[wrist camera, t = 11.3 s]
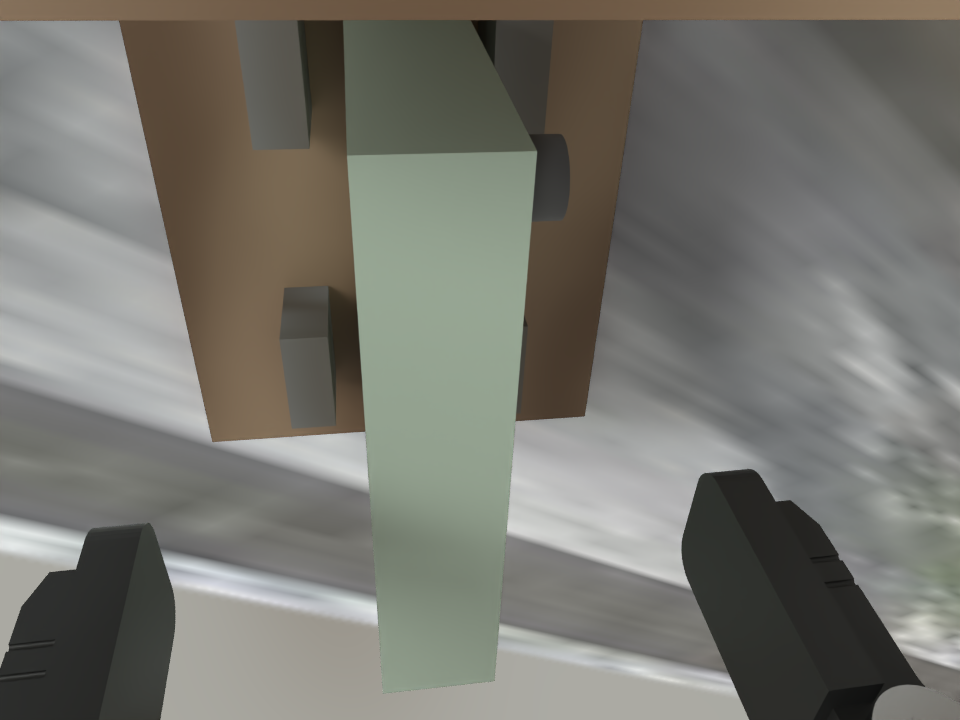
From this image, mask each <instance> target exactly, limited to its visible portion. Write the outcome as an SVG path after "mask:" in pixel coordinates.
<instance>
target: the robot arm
mask: <svg viewBox="0 0 960 720" xmlns="http://www.w3.org/2000/svg"><path fill="white" fill-rule="evenodd" d="M838 555H839V554H838V553H837V551H836V550H835V548H834V546H833V545H832V543H831V542H830V540H829V539H828V537H827V536H826V534H825V532H824V531H823V529H822V528H821V526H820V525H819V524H818V523H817V522H816V521H814V520H813V519H812V518H811V517H810V516H809V515H807V514H806V513H805V512H804V511H803V510H801V509H800V508H799V507H798V506H797V505H795V504H794V503H793V502H792V501H791V500H789V501H779V502H776V501H775V500H774V498H773V496H772V495H771V493H770V491H769V490H768V488H767V486H766V485H765V483H764V481H763V480H762V478H761V477H760V475H759V474H758V473H757V472H756V471H754V470H752V469H745V470H734V471H724V472H713V473H704V474H702V475H701V477H700V478H699V481H698V484H697V487H696V491H695V494H694V498H693V502H692V505H691V509H690V512H689V516H688V519H687V523H686V527H685V530H684V534H683V538H682V560H683V566H684V570H685V573H686V576H687V579H688V581H689V584H690V586H691V588H692V591H693V593H694V595H695V597H696V600H697V602H698V604H699V606H700V609H701V611H702V613H703V616H704V618H705V620H706V622H707V625H708V627H709V629H710V631H711V634H712V636H713V638H714V641H715V643H716V645H717V647H718V650H719V652H720V654H721V656H722V659H723V661H724V663H725V666H726V668H727V670H728V672H729V675H730V677H731V679H732V681H733V684H734V686H735V688H736V691H737V693H738V695H739V697H740V700H741V702H742V704H743V706H744V709H745V711H746V713H747V716H748V718H749V720H960V704H959V703H958V702H956V701H955V700H953V699H951V698H950V697H948V696H946V695H944V694H942V693H940V692H938V691H936V690H933V689H930V688H927V687H925V686H924V685H923V684H922V683H921V681H920V680H919V679H918V677H917V676H916V674H915V673H914V671H913V670H912V668H911V667H910V665H909V664H908V662H907V661H906V659H905V657H904V656H903V654H902V653H901V651H900V650H899V648H898V646H897V645H896V643H895V642H894V640H893V639H892V637H891V636H890V634H889V632H888V631H887V629H886V628H885V626H884V625H883V623H882V621H881V620H880V618H879V617H878V615H877V614H876V612H875V611H874V609H873V607H872V606H871V604H870V603H869V601H868V600H867V598H866V596H865V595H864V593H863V592H862V590H861V589H860V587H859V586H858V585H855V583H854V578H853V576H852V575H851V573H850V571H849V570H848V568H847V567H846V565H845V564H844V562H843V561H842V560H841V561H840V560H839V557H838ZM174 632H175V600H174V594H173V589H172V586H171V583H170V579H169V576H168V573H167V570H166V567H165V564H164V560H163V557H162V554H161V551H160V548H159V545H158V541H157V538H156V535H155V532H154V529H153V527H152V526H151V524H149V523H144V524H134V525H123V526H112V527H101V528H93V529H91V530H90V531H89V532H88V534H87V536H86V538H85V541H84V544H83V548H82V551H81V555H80V558H79V561H78V565H77V568H76V570H67V571H58V572H49V574H48V575H47V576H46V577H45V579H44V580H43V581H42V582H41V583H40V585H39V586H38V587H37V589H36V590H35V591H34V592H33V593H32V594H31V596H30V597H29V598H28V600H27V601H26V602H25V603H24V604H23V606H22V607H21V610H20V613H19V616H18V619H17V621H16V624H15V627H14V630H13V633H12V636H11V639H10V642H9V651H8V652H6V653H5V657H4V659H3V662H2V665H1V668H0V720H160V718H161V712H162V705H163V700H164V694H165V688H166V681H167V675H168V669H169V663H170V657H171V651H172V645H173V639H174Z"/></svg>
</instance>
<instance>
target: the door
mask: <svg viewBox="0 0 960 720" xmlns="http://www.w3.org/2000/svg"><path fill="white" fill-rule="evenodd" d="M343 33H344V69H345V104H346V139H347V163H348V178H349V193H350V208H351V223H352V238H353V253H354V268H355V283H356V298H357V313H358V327H359V342H360V357H361V372H362V387H363V402H364V417H365V432H366V447H367V462H368V477H369V492H370V506H371V521H372V536H373V551H374V566H375V581H376V596H377V611H378V626H379V640H380V656H381V670H382V685H383V694H384V693H392V692H402V691H411V690H419V689H429V688H438V687H447V686H456V685H465V684H473V683H482V682H491V681H495V667H496V656H497V644H498V631H499V619H500V606H501V594H502V582H503V569H504V557H505V544H506V532H507V520H508V507H509V495H510V482H511V470H512V457H513V445H514V433H515V420H516V408H517V395H518V383H519V371H520V358H521V346H522V333H523V321H524V309H525V296H526V284H527V271H528V259H529V247H530V234H531V222H538V221H561V220H563V218H564V217H565V214H566V211H567V207H568V202H569V194H570V162H569V154H568V148H567V144H566V141H565V138H564V137H563V135H562V134H528V132H527V130H526V128H525V126H524V124H523V122H522V120H521V118H520V116H519V114H518V112H517V111H516V109H515V107H514V105H513V103H512V101H511V99H510V97H509V95H508V93H507V91H506V89H505V87H504V85H503V83H502V81H501V79H500V77H499V75H498V73H497V71H496V69H495V67H494V65H493V63H492V61H491V59H490V57H489V55H488V53H487V51H486V50H485V48H484V46H483V44H482V42H481V40H480V38H479V36H478V34H477V32H476V30H475V28H474V26H473V24H472V22H471V20H343Z"/></svg>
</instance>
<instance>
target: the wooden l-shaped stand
mask: <svg viewBox="0 0 960 720" xmlns="http://www.w3.org/2000/svg"><path fill="white" fill-rule="evenodd" d="M79 20H119V22H120V27H121V31H122V36H123V40H124V45H125V49H126V54H127V58H128V63H129V67H130V72H131V77H132V81H133V86H134V90H135V95H136V99H137V104H138V108H139V113H140V117H141V122H142V126H143V131H144V135H145V140H146V144H147V149H148V153H149V158H150V162H151V167H152V171H153V176H154V180H155V185H156V189H157V194H158V198H159V203H160V207H161V212H162V216H163V221H164V226H165V230H166V235H167V239H168V244H169V248H170V253H171V257H172V262H173V266H174V271H175V275H176V280H177V284H178V289H179V293H180V298H181V302H182V307H183V311H184V316H185V320H186V325H187V329H188V334H189V338H190V343H191V347H192V352H193V356H194V361H195V365H196V370H197V374H198V379H199V384H200V388H201V393H202V397H203V402H204V406H205V411H206V415H207V420H208V424H209V429H210V433H211V438H212V442H220V441H234V440H249V439H263V438H278V437H292V436H307V435H321V434H336V433H350V432H365V417H364V402H363V387H362V372H361V357H360V342H359V327H358V313H357V298H356V283H355V268H354V253H353V238H352V223H351V208H350V193H349V178H348V163H347V139H346V104H345V69H344V33H343V20H471V22H472V24H473V26H474V28H475V30H476V32H477V34H478V36H479V38H480V40H481V42H482V44H483V46H484V48H485V50H486V51H487V53H488V55H489V57H490V59H491V61H492V63H493V65H494V67H495V69H496V71H497V73H498V75H499V77H500V79H501V81H502V83H503V85H504V87H505V89H506V91H507V93H508V95H509V97H510V99H511V101H512V103H513V105H514V107H515V109H516V111H517V112H518V114H519V116H520V118H521V120H522V122H523V124H524V126H525V128H526V130H527V132H528V134H562V135H563V137H564V138H565V141H566V144H567V148H568V154H569V162H570V194H569V202H568V207H567V211H566V214H565V217H564V218H563V220H561V221H538V222H531V234H530V247H529V259H528V271H527V284H526V296H525V309H524V321H523V333H522V346H521V358H520V371H519V383H518V395H517V408H516V420H515V421H524V420H539V419H553V418H568V417H582V416H585V411H586V404H587V398H588V391H589V384H590V377H591V370H592V364H593V357H594V350H595V343H596V336H597V330H598V323H599V316H600V309H601V302H602V296H603V289H604V282H605V275H606V269H607V262H608V255H609V248H610V241H611V235H612V228H613V221H614V214H615V207H616V201H617V194H618V187H619V180H620V174H621V167H622V160H623V153H624V146H625V140H626V133H627V126H628V119H629V112H630V106H631V99H632V92H633V85H634V78H635V72H636V65H637V58H638V51H639V45H640V38H641V31H642V24H643V20H960V0H0V21H79Z"/></svg>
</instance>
